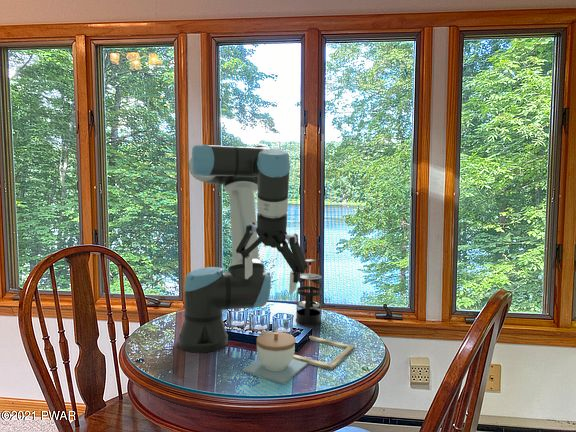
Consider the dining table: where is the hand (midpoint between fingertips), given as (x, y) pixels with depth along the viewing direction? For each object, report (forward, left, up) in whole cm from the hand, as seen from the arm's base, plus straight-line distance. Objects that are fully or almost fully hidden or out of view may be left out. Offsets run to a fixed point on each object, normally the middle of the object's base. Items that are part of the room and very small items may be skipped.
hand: (270, 283), depth 110 cm
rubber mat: (+2, +1, -24) cm, 24 cm away
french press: (-8, +40, -24) cm, 47 cm away
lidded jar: (+2, +1, -23) cm, 23 cm away
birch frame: (+7, +17, -24) cm, 30 cm away
